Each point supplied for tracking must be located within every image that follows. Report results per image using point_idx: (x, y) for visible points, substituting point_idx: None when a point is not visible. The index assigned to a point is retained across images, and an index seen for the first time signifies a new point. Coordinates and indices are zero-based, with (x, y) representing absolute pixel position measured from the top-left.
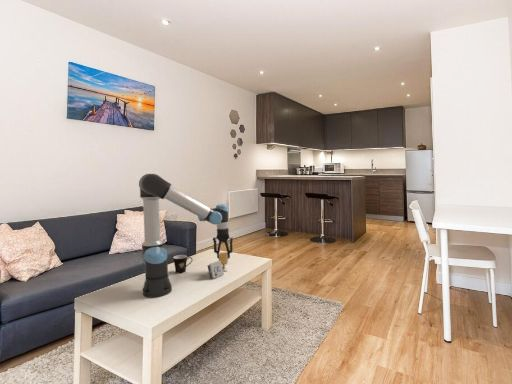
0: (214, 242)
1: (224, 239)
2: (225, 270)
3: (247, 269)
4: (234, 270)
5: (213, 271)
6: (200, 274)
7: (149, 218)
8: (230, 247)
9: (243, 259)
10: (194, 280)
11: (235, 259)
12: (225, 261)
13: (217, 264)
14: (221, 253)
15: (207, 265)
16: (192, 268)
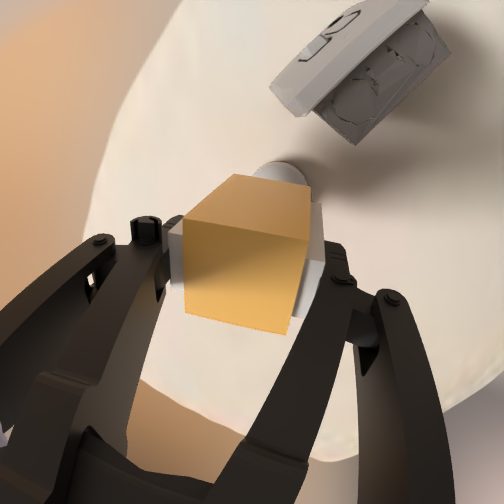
0: (435, 489)
1: (13, 498)
2: (259, 169)
3: (112, 203)
4: (191, 190)
5: (361, 6)
6: (463, 145)
7: None
8: (53, 284)
9: (175, 366)
10: (481, 38)
11: (217, 377)
12: (234, 184)
13: (329, 46)
14: (271, 264)
15: (450, 52)
16: (488, 284)
